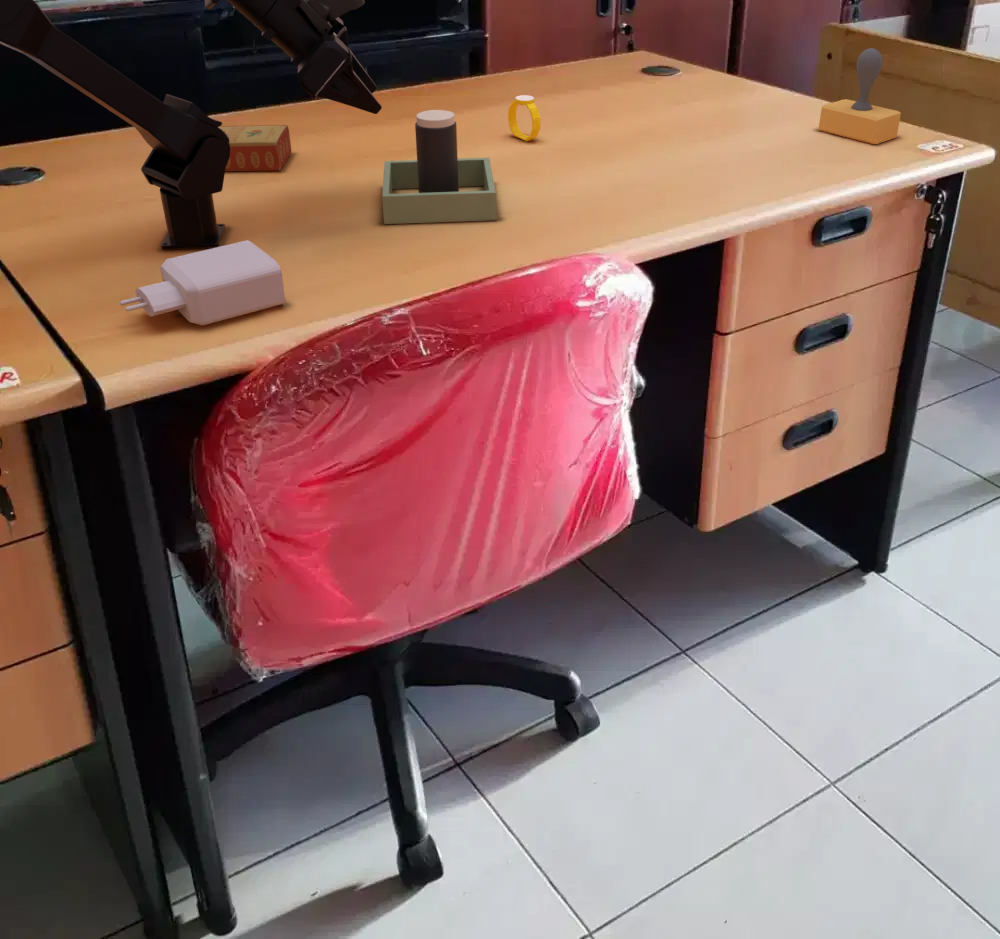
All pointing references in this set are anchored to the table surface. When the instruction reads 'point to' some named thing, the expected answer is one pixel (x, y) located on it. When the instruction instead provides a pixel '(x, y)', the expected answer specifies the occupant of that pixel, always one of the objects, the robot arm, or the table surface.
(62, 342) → the table surface
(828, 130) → the rubber stamp
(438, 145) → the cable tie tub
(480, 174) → the box
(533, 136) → the watch
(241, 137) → the carton
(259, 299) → the charger
